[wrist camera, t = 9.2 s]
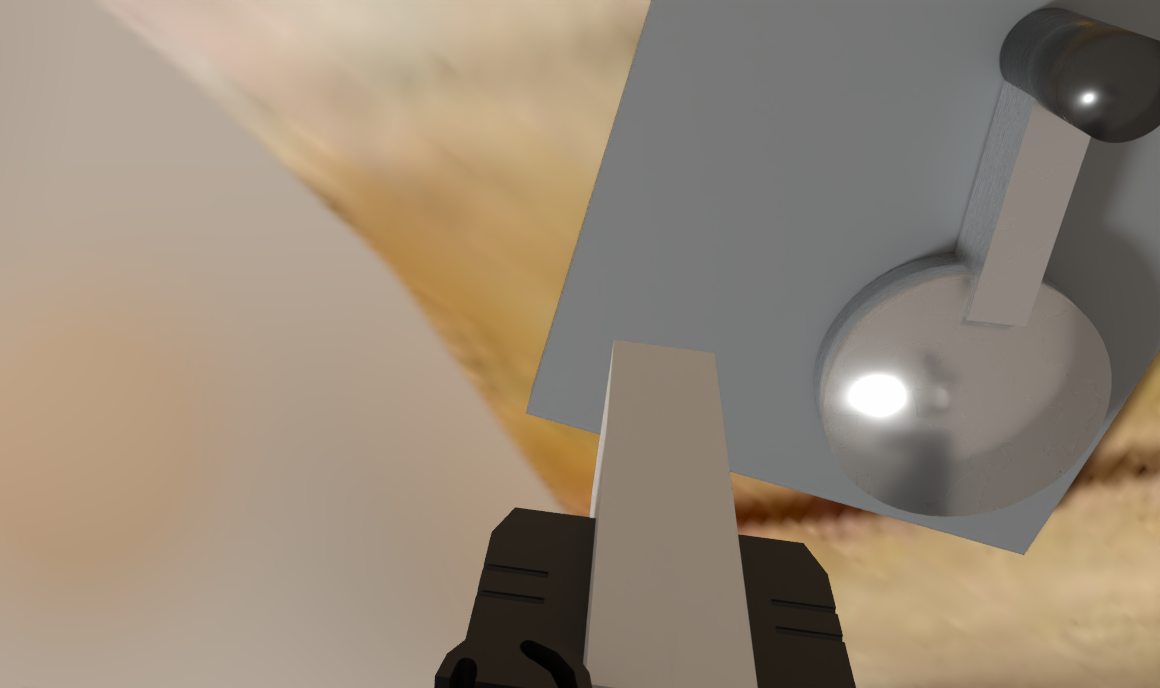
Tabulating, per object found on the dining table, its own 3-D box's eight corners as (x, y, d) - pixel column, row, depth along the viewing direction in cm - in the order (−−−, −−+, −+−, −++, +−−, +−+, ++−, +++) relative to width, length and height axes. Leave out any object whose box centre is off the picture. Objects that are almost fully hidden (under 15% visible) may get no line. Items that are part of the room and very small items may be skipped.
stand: (1008, 525, 41) (1026, 559, 39) (531, 389, 40) (525, 417, 38) (1384, -64, 30) (1438, -59, 28) (738, -284, 29) (744, -296, 26)
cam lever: (1036, 493, 38) (1099, 595, 33) (791, 466, 38) (814, 562, 33) (1216, 23, 30) (1340, 57, 24) (901, -9, 30) (955, 18, 24)
